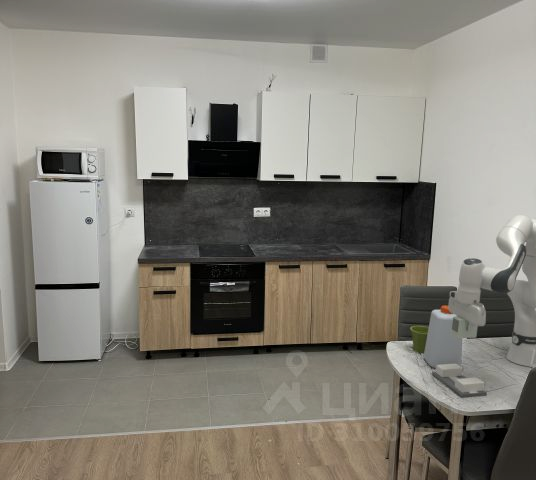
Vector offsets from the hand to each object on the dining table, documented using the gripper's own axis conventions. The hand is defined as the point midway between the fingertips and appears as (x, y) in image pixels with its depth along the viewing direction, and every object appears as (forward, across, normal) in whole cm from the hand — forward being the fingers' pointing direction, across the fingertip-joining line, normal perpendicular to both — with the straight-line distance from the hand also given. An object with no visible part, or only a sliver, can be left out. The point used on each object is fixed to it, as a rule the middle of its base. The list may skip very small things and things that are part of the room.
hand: (464, 329), depth 201 cm
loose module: (+3, 0, 0) cm, 3 cm away
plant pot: (+26, +37, -4) cm, 45 cm away
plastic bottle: (+26, +21, -6) cm, 34 cm away
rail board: (+25, 0, 0) cm, 25 cm away
